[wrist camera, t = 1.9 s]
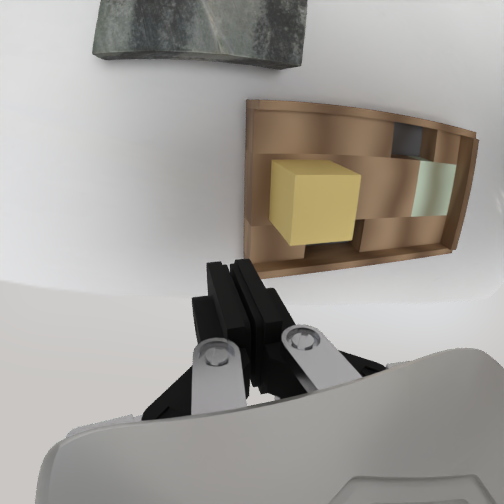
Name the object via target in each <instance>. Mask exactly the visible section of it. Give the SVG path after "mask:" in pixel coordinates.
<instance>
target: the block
mask: <svg viewBox="0 0 504 504" xmlns="http://www.w3.org/2000/svg"><path fill="white" fill-rule="evenodd" d="M360 182H361V175H360V174H358V173H356V172H353V171H351V170H349V169H347V168H345V167H343V166H341V165H339V164H336V163H334V162H332V161H330V160H272V164H271V188H270V210H269V220H270V221H271V223H272V224H273V225H274V226H275V228H276V229H277V230H278V231H279V233H280V234H281V235H282V236H283V238H284V239H285V240H286V241H287V243H288V244H289V245H290V246H295V245H306V244H317V243H328V242H338V241H349V240H352V237H353V231H354V225H355V218H356V212H357V205H358V197H359V190H360Z"/></svg>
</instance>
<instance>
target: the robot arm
mask: <svg viewBox="0 0 504 504" xmlns="http://www.w3.org/2000/svg"><path fill="white" fill-rule="evenodd" d="M207 284H208V296H202V297H193V298H192V307H193V317H194V324H195V331H196V336H197V342H198V345H197V346H196V348H195V349H194V352H193V365H192V366H191V367H190V368H189V369H188V370H187V371H186V372H185V373H184V374H183V375H182V376H181V377H180V378H179V379H178V380H177V381H176V382H175V383H173V384H172V385H171V386H170V387H169V388H168V389H167V390H166V391H165V392H164V393H163V394H162V395H161V396H160V397H159V398H157V400H155V401H154V402H153V403H152V404H151V405H150V406H149V407H148V408H147V409H146V410H145V412H144V413H143V415H140V416H137V417H133V415H132V414H131V415H128V416H124V417H120V418H116V419H112V420H108V421H104V422H99V423H95V424H90V425H86V426H82V427H78V428H75V429H73V430H72V431H70V432H69V433H68V435H67V437H66V438H65V439H63V440H61V441H60V442H58V443H56V444H55V445H54V446H53V447H52V448H51V449H50V450H49V451H48V453H47V455H46V456H45V458H44V460H43V463H42V465H41V469H40V473H39V477H38V483H37V490H36V499H35V504H504V368H503V367H502V366H501V365H500V364H499V363H498V362H497V361H496V360H494V359H493V358H492V357H491V356H489V355H488V354H486V353H485V352H484V351H481V350H478V349H473V348H456V349H449V350H445V351H441V352H437V353H433V354H431V355H428V356H424V357H422V358H418V359H416V360H413V361H406V362H398V363H391V364H387V365H386V367H384V366H383V365H381V364H379V363H377V362H373V361H370V360H367V359H364V358H361V357H358V356H355V355H351V354H348V353H345V352H342V351H339V350H337V349H336V348H335V347H334V345H333V344H332V343H331V342H330V341H329V340H328V339H327V338H326V337H325V335H323V333H322V332H320V331H319V330H318V329H317V328H314V327H312V326H308V325H296V324H295V323H294V321H293V319H292V318H291V316H290V314H289V313H288V311H287V309H286V307H285V305H284V304H283V302H282V300H281V299H280V297H279V295H278V293H277V292H276V290H275V289H274V288H265V286H264V284H263V283H262V281H261V279H260V277H259V275H258V273H257V271H256V270H255V268H254V266H253V264H252V262H251V260H250V259H239V260H235V264H230V272H229V269H228V267H227V265H222V263H221V261H220V262H210V263H207ZM250 380H251V383H252V385H253V387H257V386H258V388H259V391H260V393H261V394H265V393H270V394H272V395H274V396H275V401H271V402H266V403H262V404H256V405H251V406H247V404H246V399H247V398H248V396H249V386H250Z"/></svg>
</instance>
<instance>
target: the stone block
mask: <svg viewBox="0 0 504 504" xmlns="http://www.w3.org/2000/svg"><path fill="white" fill-rule="evenodd" d="M306 15H307V0H101V2H100V8H99V14H98V20H97V24H96V30H95V37H94V43H93V52H92V54H93V55H95V56H97V57H99V58H101V59H104V60H115V59H188V60H206V61H219V62H227V63H236V64H246V65H254V66H261V67H267V68H273V69H280V70H282V69H287V68H293V67H298V66H301V63H302V54H303V44H304V36H305V26H306Z"/></svg>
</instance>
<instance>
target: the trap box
mask: <svg viewBox="0 0 504 504" xmlns="http://www.w3.org/2000/svg"><path fill="white" fill-rule="evenodd" d="M478 143H479V140H478V139H476V132H473V131H469V130H466V129H462V128H458V127H454V126H450V125H446V124H442V123H438V122H434V121H429V120H424V119H420V118H415V117H410V116H405V115H399V114H394V113H388V112H382V111H376V110H369V109H363V108H355V107H347V106H339V105H330V104H320V103H308V102H295V101H277V100H246V149H245V207H244V259H250V260H251V262H252V264H253V266H254V268H255V270H256V271H257V273H258V275H259V277H260V279H266V278H275V277H283V276H291V275H300V274H307V273H315V272H323V271H331V270H338V269H346V268H353V267H361V266H368V265H375V264H382V263H389V262H396V261H403V260H410V259H416V258H423V257H429V256H436V255H442V254H449V253H452V250H456V248H457V244H458V240H459V237H460V233H461V229H462V225H463V221H464V217H465V213H466V209H467V205H468V200H469V195H470V191H471V186H472V180H473V175H474V169H475V163H476V157H477V150H478ZM272 160H330V161H332V162H334V163H336V164H339V165H341V166H343V167H345V168H347V169H349V170H351V171H353V172H356V173H358V174H360V175H361V182H360V190H359V197H358V205H357V212H356V218H355V225H354V231H353V237H352V240H349V241H338V242H328V243H317V244H306V245H295V246H290V245H289V244H288V243H287V241H286V240H285V239H284V238H283V236H282V235H281V234H280V233H279V231H278V230H277V229H276V228H275V226H274V225H273V224H272V223H271V221H270V220H269V210H270V188H271V164H272Z"/></svg>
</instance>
